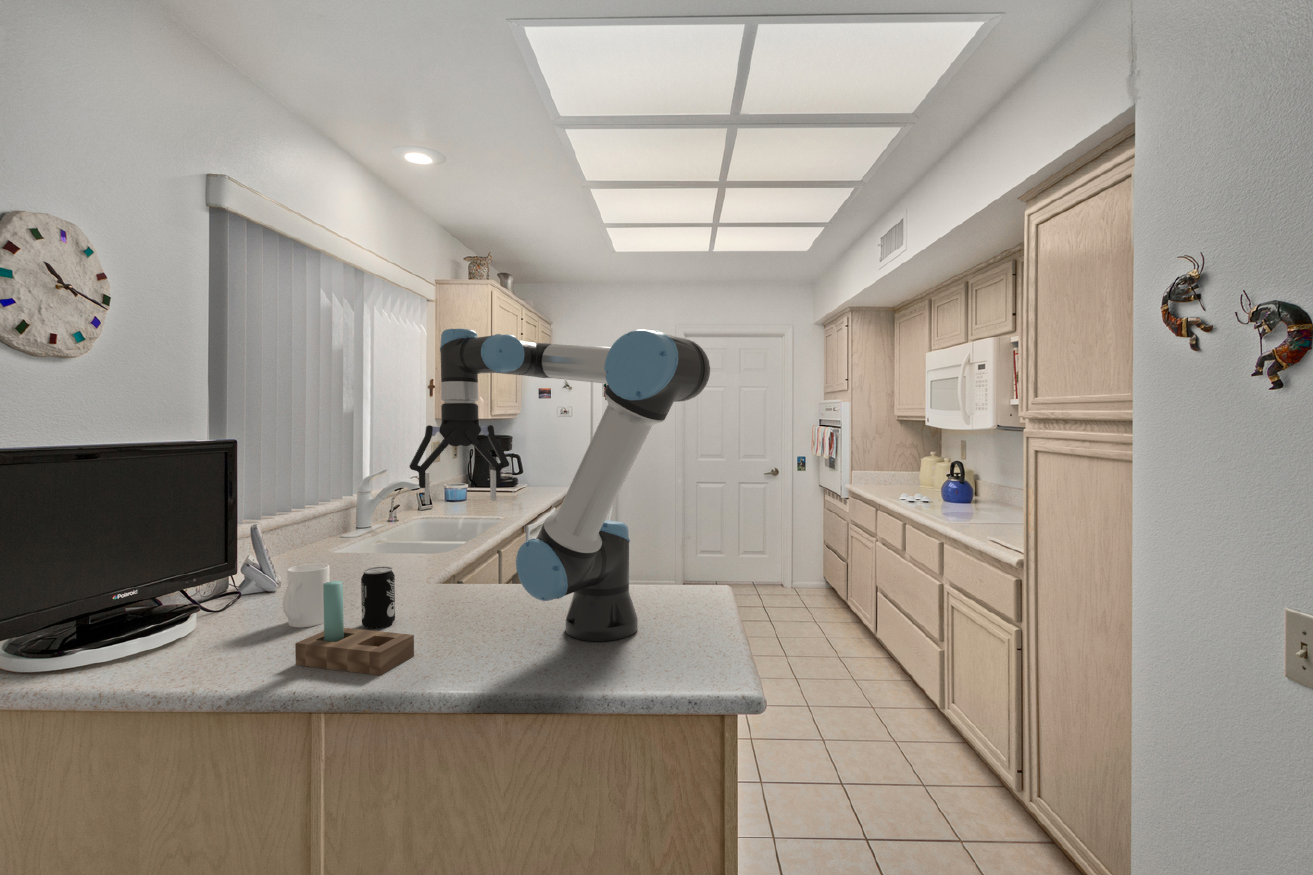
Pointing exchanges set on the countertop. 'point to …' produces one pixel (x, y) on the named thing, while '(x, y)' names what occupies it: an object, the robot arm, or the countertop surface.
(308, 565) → the mug
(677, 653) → the countertop surface
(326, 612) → the peg
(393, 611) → the beverage can
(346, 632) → the hole block
